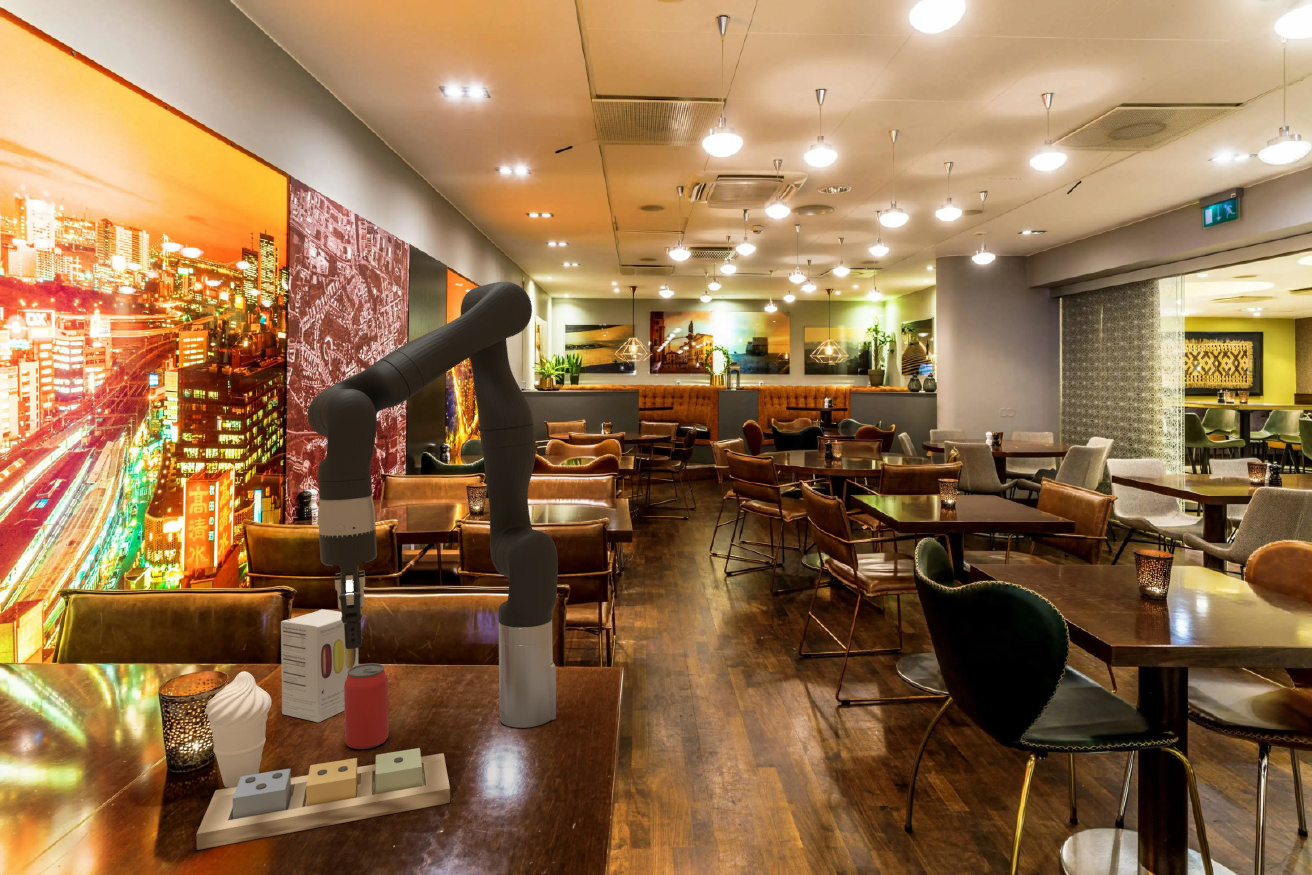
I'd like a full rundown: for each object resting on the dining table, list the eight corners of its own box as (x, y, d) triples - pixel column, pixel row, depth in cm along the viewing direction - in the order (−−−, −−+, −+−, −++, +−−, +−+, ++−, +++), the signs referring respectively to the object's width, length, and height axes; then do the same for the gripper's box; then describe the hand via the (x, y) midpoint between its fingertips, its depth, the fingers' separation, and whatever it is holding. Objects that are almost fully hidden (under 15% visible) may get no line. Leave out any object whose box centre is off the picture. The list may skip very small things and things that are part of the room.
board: (443, 766, 110) (443, 753, 110) (450, 802, 100) (449, 788, 100) (216, 804, 99) (215, 790, 99) (196, 849, 89) (196, 833, 89)
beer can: (373, 752, 114) (372, 677, 114) (336, 749, 116) (335, 674, 115) (396, 734, 121) (395, 663, 120) (361, 731, 122) (359, 660, 122)
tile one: (420, 774, 106) (419, 746, 106) (422, 794, 101) (421, 765, 101) (376, 782, 104) (375, 753, 104) (376, 803, 99) (375, 772, 99)
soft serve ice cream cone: (226, 802, 100) (223, 687, 99) (195, 785, 104) (192, 676, 104) (284, 776, 107) (282, 669, 107) (253, 762, 112) (251, 659, 111)
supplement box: (318, 723, 125) (316, 627, 125) (280, 715, 129) (278, 621, 128) (361, 703, 134) (359, 612, 133) (324, 695, 138) (322, 607, 137)
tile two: (357, 785, 103) (357, 756, 103) (356, 806, 98) (355, 776, 98) (311, 793, 101) (310, 763, 101) (306, 815, 96) (306, 784, 96)
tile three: (291, 796, 100) (290, 766, 100) (285, 819, 95) (285, 787, 95) (241, 805, 98) (241, 774, 98) (233, 828, 93) (232, 796, 93)
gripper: (376, 533, 100) (382, 657, 101) (374, 519, 112) (380, 630, 113) (316, 538, 97) (323, 666, 98) (321, 523, 109) (327, 637, 110)
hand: (353, 646), depth 105 cm, fingers closed
